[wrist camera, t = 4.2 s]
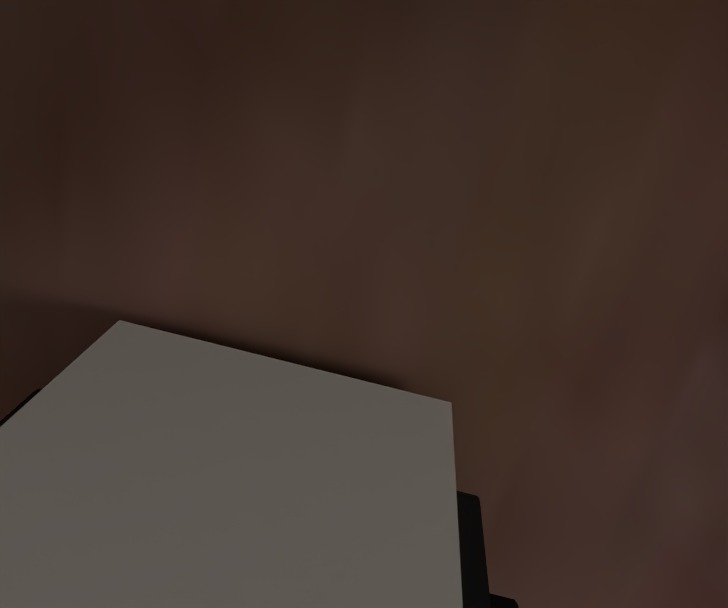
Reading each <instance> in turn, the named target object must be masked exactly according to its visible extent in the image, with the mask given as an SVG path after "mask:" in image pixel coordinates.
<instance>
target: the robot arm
mask: <svg viewBox="0 0 728 608" xmlns="http://www.w3.org/2000/svg"><path fill="white" fill-rule="evenodd" d="M41 390H42V389H37V390H36V391H34V392H33V393H32V394H31V395H29V396H28V397H27V398H26V399H25V400H24V401H23V402H22V403H20V404H19V405H18V406H17V407H16V408H15V409H14V410H13V411H11V412H10V413H9V414H8V415H7V416H6V417H5V418H4V419H2V420H1V421H0V427H1V426H2V425H3V424H4V423H5V422H6V421H8V420H9V419H10V418H11V417H12V416H13V415H14V414H15V413H16V412H18V411H19V410H20V409H21V408H22V407H23V406H24V405H25V404H26V403H28V402H29V401H30V400H31V399H32V398H33V397H34V396H35V395H36V394H38V393H39V392H40V391H41ZM456 494H457V512H458V530H459V548H460V566H461V584H462V602H463V608H518V604H517V603H516V601H515V600H514V599H510V598H506V597H502V596H498V595H494V594H490V593H489V586H488V576H487V566H486V557H485V547H484V537H483V528H482V518H481V508H480V501H479V497H478V496H475V495H471V494H467V493H463V492H459V491H456Z"/></svg>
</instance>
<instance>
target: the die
mask: <svg viewBox="0 0 728 608" xmlns="http://www.w3.org/2000/svg"><path fill="white" fill-rule="evenodd" d="M0 608H463V602H462V584H461V566H460V548H459V530H458V512H457V494H456V476H455V458H454V440H453V422H452V404H451V402H447V401H443V400H439V399H435V398H431V397H427V396H423V395H419V394H415V393H411V392H407V391H403V390H399V389H395V388H391V387H387V386H383V385H379V384H375V383H371V382H367V381H363V380H359V379H355V378H351V377H347V376H342V375H338V374H334V373H330V372H326V371H322V370H318V369H314V368H310V367H306V366H302V365H298V364H294V363H290V362H286V361H282V360H278V359H274V358H270V357H266V356H262V355H258V354H254V353H250V352H246V351H242V350H238V349H234V348H230V347H226V346H222V345H218V344H214V343H210V342H206V341H202V340H198V339H194V338H190V337H186V336H182V335H178V334H174V333H169V332H165V331H161V330H157V329H153V328H149V327H145V326H141V325H137V324H133V323H129V322H125V321H121V320H119V321H118V322H117V323H116V324H114V325H113V326H112V327H111V328H110V329H109V330H108V331H107V332H105V333H104V334H103V335H102V336H101V337H100V338H99V339H98V340H97V341H95V342H94V343H93V344H92V345H91V346H90V347H89V348H88V349H87V350H85V351H84V352H83V353H82V354H81V355H80V356H79V357H78V358H77V359H75V360H74V361H73V362H72V363H71V364H70V365H69V366H68V367H67V368H65V369H64V370H63V371H62V372H61V373H60V374H59V375H58V376H57V377H55V378H54V379H53V380H52V381H51V382H50V383H49V384H48V385H46V386H45V387H44V388H43V389H42V390H41V391H40V392H39V393H38V394H36V395H35V396H34V397H33V398H32V399H31V400H30V401H29V402H28V403H26V404H25V405H24V406H23V407H22V408H21V409H20V410H19V411H18V412H16V413H15V414H14V415H13V416H12V417H11V418H10V419H9V420H8V421H6V422H5V423H4V424H3V425H2V426H1V427H0Z"/></svg>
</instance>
